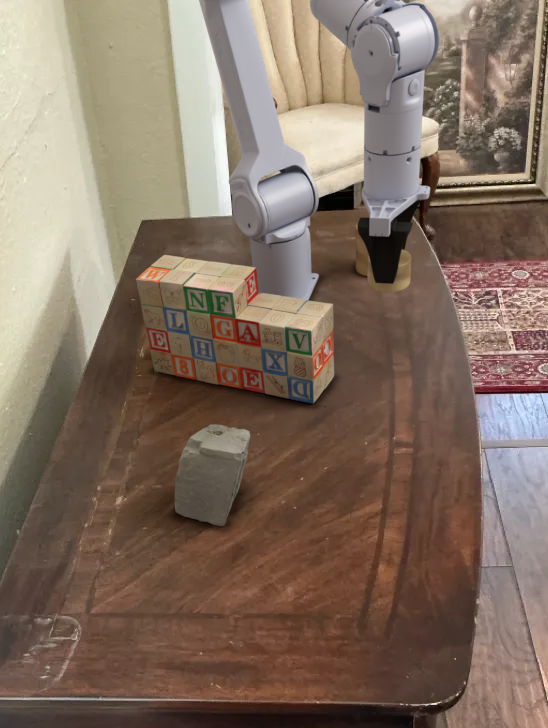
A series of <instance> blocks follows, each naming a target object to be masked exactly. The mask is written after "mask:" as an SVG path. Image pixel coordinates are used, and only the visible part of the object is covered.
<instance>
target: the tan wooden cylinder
mask: <svg viewBox="0 0 548 728" xmlns="http://www.w3.org/2000/svg"><path fill="white" fill-rule="evenodd" d="M411 274H412V255H411V254H410V252H409V251H407V250H406V249H405V250H403V249H402V251H401V255H400V261H399V266H398V271H397V275H396V278H395V281H394V283H393V284H387V283H376V282H375V280H374V276H373V272H372V267H371V262H370V258H369V256H368V273H367V276H366V277H367V278H366V281H367V286H368V287H369V288H370V289H371V290H373V291H375V292H379V293H396V292H400V291H403V290H406V289H407V288H408V287H409V286H410V284H411V277H412V276H411Z"/></svg>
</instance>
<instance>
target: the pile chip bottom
mask: <svg viewBox="0 0 548 728" xmlns="http://www.w3.org/2000/svg"><path fill="white" fill-rule="evenodd" d="M368 256H369V255H365V254H362V253H360V252H358V251H357V250H356V249H355V270H356V272H357V273H358V274H360V275H362V276H364V277H365V276H366V277H367V273H368Z"/></svg>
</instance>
